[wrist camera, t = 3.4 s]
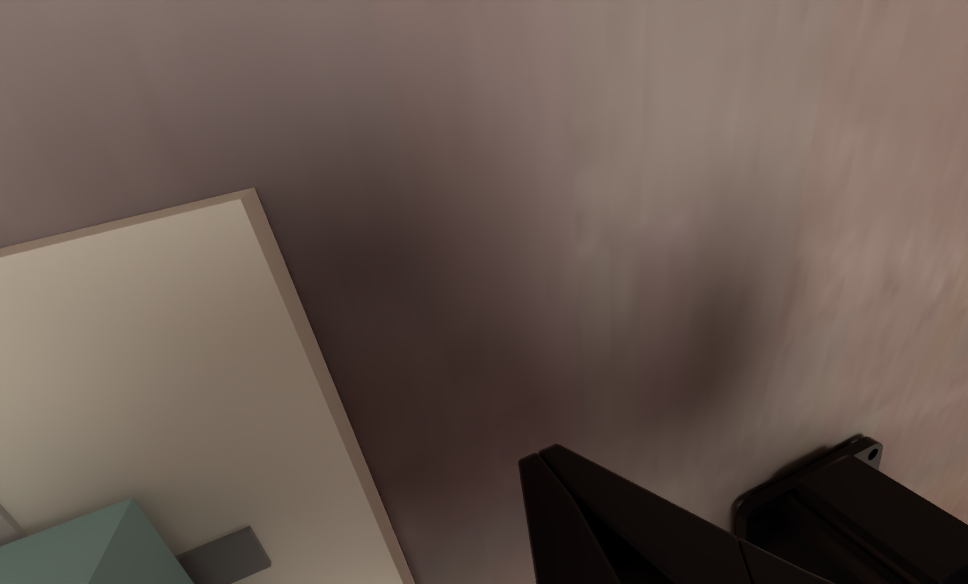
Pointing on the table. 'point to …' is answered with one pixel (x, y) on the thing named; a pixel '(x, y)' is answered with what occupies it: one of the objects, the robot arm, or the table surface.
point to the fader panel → (183, 400)
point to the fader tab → (94, 552)
